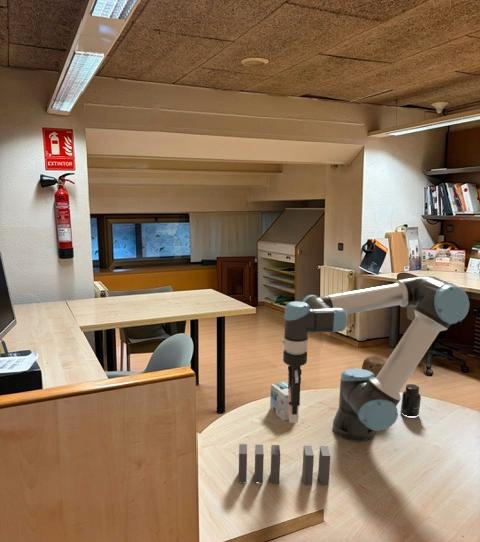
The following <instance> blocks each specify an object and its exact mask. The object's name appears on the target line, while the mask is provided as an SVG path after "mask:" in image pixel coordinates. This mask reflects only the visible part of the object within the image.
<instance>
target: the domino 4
mask: <svg viewBox="0 0 480 542" xmlns="http://www.w3.org/2000/svg"><path fill="white" fill-rule="evenodd" d="M289 402H291V386H289ZM288 415H289V418H290V405H289V409H288Z"/></svg>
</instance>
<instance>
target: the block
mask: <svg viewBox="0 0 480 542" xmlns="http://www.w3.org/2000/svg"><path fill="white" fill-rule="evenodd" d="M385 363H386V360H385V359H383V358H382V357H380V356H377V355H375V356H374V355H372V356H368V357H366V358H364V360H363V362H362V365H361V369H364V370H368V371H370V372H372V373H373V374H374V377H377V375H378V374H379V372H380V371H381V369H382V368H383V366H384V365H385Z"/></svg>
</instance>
